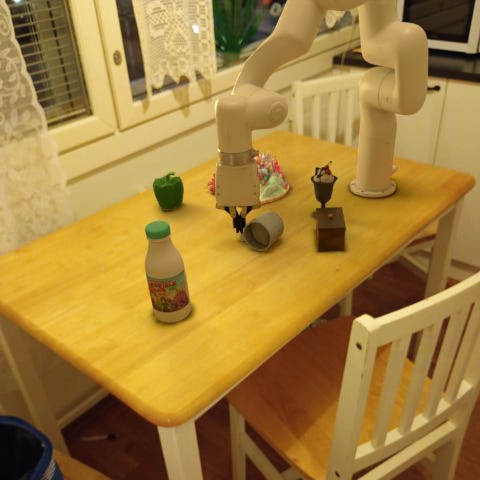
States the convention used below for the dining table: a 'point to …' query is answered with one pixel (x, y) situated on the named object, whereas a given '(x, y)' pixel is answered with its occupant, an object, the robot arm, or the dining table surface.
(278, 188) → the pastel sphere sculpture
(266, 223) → the ceramic mug
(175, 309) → the milk bottle
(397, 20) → the robot arm
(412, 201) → the dining table surface
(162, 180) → the bell pepper
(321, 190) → the sundae
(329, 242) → the tea box
